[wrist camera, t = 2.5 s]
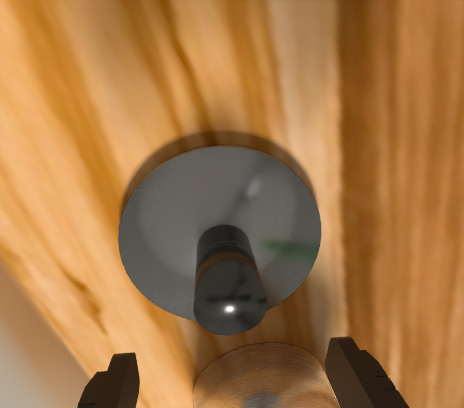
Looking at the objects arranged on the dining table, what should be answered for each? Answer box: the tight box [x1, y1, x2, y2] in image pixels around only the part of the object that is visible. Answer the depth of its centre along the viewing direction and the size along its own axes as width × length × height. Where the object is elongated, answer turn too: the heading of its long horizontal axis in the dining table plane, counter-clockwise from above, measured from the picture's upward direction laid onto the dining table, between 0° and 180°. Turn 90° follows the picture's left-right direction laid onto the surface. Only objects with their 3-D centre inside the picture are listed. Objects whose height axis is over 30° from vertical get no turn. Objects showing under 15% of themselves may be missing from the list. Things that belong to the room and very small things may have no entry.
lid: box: [118, 144, 321, 335], centre depth 15 cm, size 14×14×6 cm
